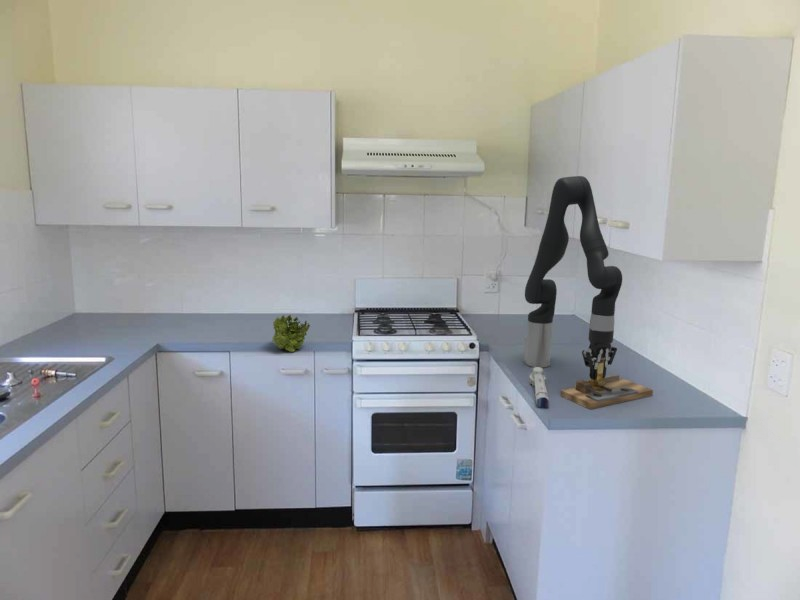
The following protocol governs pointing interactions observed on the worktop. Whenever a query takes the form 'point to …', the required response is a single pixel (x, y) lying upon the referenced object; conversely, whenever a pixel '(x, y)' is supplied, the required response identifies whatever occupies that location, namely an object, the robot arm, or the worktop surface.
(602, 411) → the worktop surface
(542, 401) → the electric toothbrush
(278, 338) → the green bumpy lump
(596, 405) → the board
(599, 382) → the gold l-shaped piece
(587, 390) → the brown block with stem
